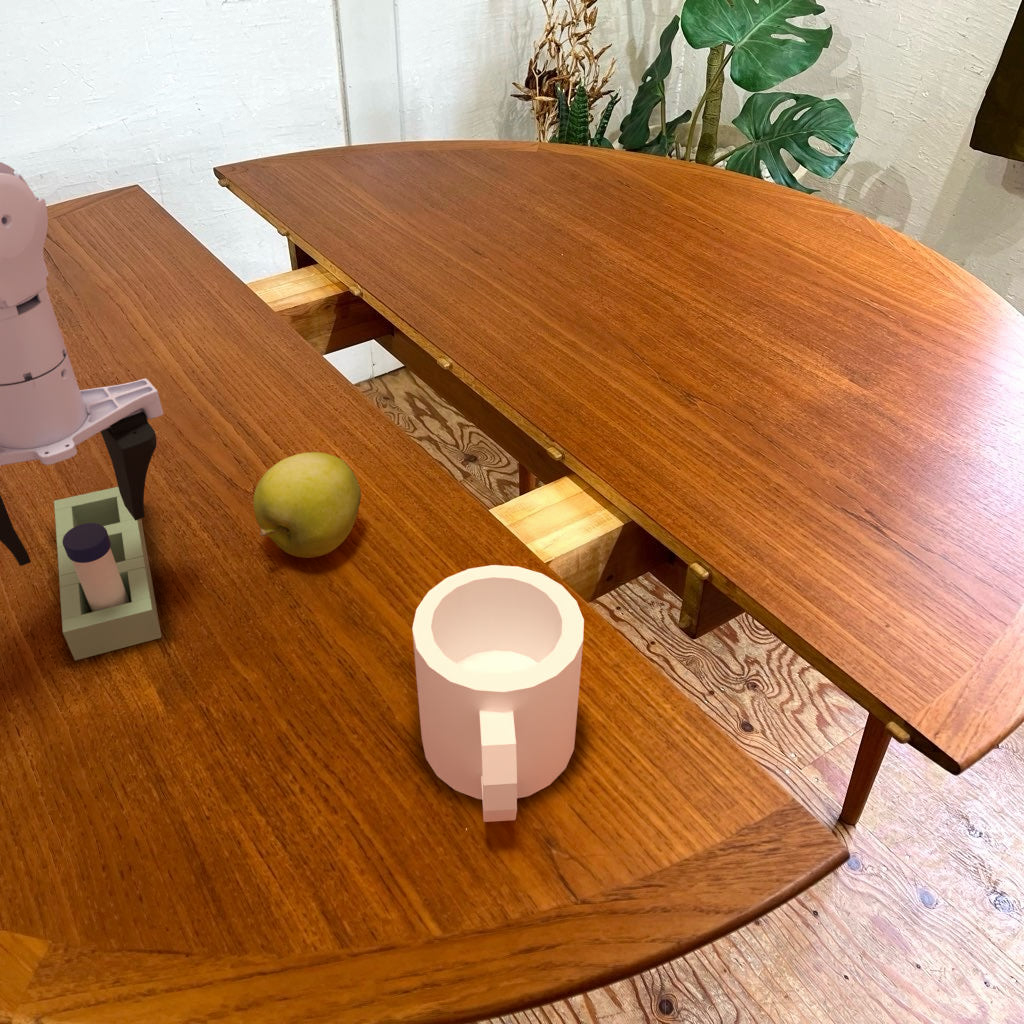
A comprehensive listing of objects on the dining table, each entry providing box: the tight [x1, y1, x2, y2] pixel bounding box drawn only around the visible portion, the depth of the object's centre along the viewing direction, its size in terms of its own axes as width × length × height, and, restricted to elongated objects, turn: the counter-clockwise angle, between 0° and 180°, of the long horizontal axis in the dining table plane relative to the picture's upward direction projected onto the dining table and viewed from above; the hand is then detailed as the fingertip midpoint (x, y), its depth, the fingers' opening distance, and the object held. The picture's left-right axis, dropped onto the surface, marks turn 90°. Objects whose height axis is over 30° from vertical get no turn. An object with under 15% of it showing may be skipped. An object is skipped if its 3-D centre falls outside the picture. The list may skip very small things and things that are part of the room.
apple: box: [252, 451, 362, 559], centre depth 75 cm, size 8×9×8 cm
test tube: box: [62, 523, 131, 612], centre depth 69 cm, size 3×3×8 cm
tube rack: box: [53, 486, 162, 661], centre depth 74 cm, size 15×6×3 cm, turn 22°
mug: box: [411, 564, 585, 823], centre depth 59 cm, size 14×10×11 cm
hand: (79, 533), depth 65 cm, fingers open, 7 cm apart
